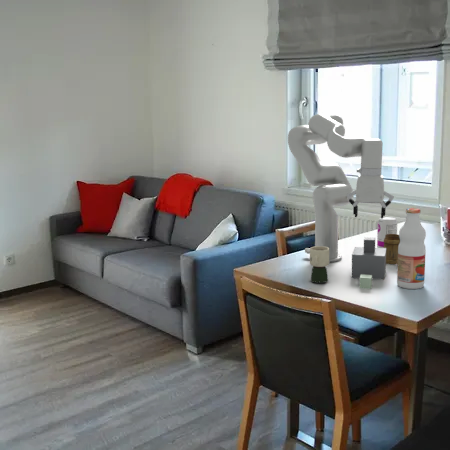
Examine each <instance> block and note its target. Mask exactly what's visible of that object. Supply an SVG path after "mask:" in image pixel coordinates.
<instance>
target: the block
mask: <svg viewBox="0 0 450 450" xmlns="http://www.w3.org/2000/svg"><path fill="white" fill-rule="evenodd" d="M372 286H373V279H372V275H362V274H361V275H360V278H359V289H367V290H369V289H370V290H371V289H372Z"/></svg>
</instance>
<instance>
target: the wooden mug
mask: <svg viewBox="0 0 450 450" xmlns="http://www.w3.org/2000/svg"><path fill="white" fill-rule="evenodd" d="M399 243H400V238H399V234H398V233H397V234H386V235H385V238H384V247H383V248H386V265H398V246H399Z"/></svg>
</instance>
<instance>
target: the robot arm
mask: <svg viewBox="0 0 450 450" xmlns="http://www.w3.org/2000/svg"><path fill="white" fill-rule="evenodd" d="M345 133H346V128H345V127H344V120H343V118H342V117H341V115H340V114H338V113H335V112H332V113H331V112H329V113H317V114H314V115H312V116H311V117H310V119H309V120H308V124H303V125H302V124H301V125H297V126H294V127H291V128H290V130H289V131H288V134H287V144H288V149H289V151H290V152H291V154H292V156H293V157H294V158H295V159H296V161H297V163H298V164H299V166H300V167H299V168H300V169H301V170H302V172H303V175H304V177H305V178H306V181H307V182H308V184H309V185H310V186H312V187H315V189H314V190H313V192H312V200H313V206H314V207H313V208H314V224H315V225H314V226H315V228H314V235H315V236H314V246H324V247H328V248H329V263H335V262H339V261H341V260H342V259H343V258H342V255H341V253H340V254H339V217H338V214H337V212H336V209H335V207H336V208H337V207H340V206H347V205H349V204H351V206H352V207H353V208H352V209H353V214H352V215H354V218H357V217H358V215H359V214H358V212H359V211H358V210H359V206H358V204H359V203H361V204H380V206H381V208H380V209H381V213H380V218H383V217H386V208H387V207H388V206H389V205H391V203H392V202H393V200H394V197H395V196H394V195H393V194H391V193H389V192H388V191H385V180H384V176H383V175H382V166H383V165H382V163H383V141H382V139H380V138H373V137H372V138H371V137H369V136H352V137H351V136H350V137H349V136H348V137H345V136H346V135H345ZM325 143H327V146H328V149H329V150H330V152H332V153H333V154H335V155H337V156H338V157H340V158H345V159H346V158H347V159H348V158H355V157H356V158H357V157H358V158H359V157H360V158H361V159H360V167H359V168H356V173H359V175H358V177H357V182H356V188H355V190H354V189H353V188H352V185H351V183H350V181H349V179H348V177H347V176H346V174H345V172H344V170H343V169H342V167H341V166H340V165H339V164H338V163H335V162H322V161H321V160H320V158H319V156H318V154H317V153H316V152H315V151H314V150H313V149H312V148H311V147H309V146H312V145H323V144H325ZM354 196H355V200H354ZM385 197H386V198H388V200H387V201H384V200H385V199H384V198H385ZM310 248H311V247H310ZM310 248H309V247H306V248H304V253H306V254H309V255H310Z"/></svg>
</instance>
